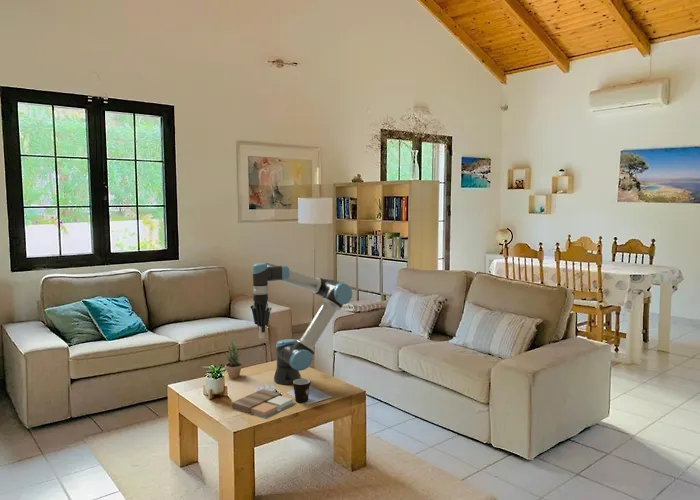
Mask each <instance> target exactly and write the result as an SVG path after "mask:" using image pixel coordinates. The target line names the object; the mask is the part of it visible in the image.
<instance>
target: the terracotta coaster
mask: <svg viewBox="0 0 700 500" xmlns="http://www.w3.org/2000/svg"><path fill="white" fill-rule="evenodd" d="M277 410H278V409H277V406H275V405H272V404H268V403H265V402H263V403H261V404H259V405H257V406H255V407H252V408H251V412H252V413H255V414H258V415H261V416H267V415H269V414H271V413H273V412H275V411H277Z"/></svg>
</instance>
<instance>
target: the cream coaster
mask: <svg viewBox="0 0 700 500" xmlns="http://www.w3.org/2000/svg"><path fill="white" fill-rule="evenodd" d="M292 402H293V398H290V397H286V396H283V395H280V396H277V397H275V398H272V399H270V400H268V401H267V403H268V404H272V405H275V406H277V408H279V409H281V408H283V407H285V406H287V405H289V404H291V403H292Z"/></svg>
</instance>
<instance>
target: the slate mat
mask: <svg viewBox="0 0 700 500" xmlns="http://www.w3.org/2000/svg"><path fill="white" fill-rule="evenodd" d="M296 404H297V402H296V401H292V403H291V404H289V405H287V406H285V407H283V408H281V409H279V408H277V409H278V410H277V411H275V412H273V413H271V414H269V415H267V416H261V415H258V414H255V413H250V414H251V415H253V416H257V417H259V418H263V419H268V418H269V417H272V416H274V415H277V414H278V413H280V412H282V411H284V410H286V409H288V408H289V407H292V406H294V405H296Z"/></svg>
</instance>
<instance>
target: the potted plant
mask: <svg viewBox="0 0 700 500" xmlns="http://www.w3.org/2000/svg"><path fill="white" fill-rule="evenodd" d="M233 338H234V339H233V340H231V339H230V340H229V342H230V346H229V345H228V344H227V343H226V348H227V350H228V352H229V353H228V352H227V351H225V353H224V356H225V357H226V360H227V361H228V362H227V363H225V366H224V367H225V369H226V372H227V375H228V378H230V379H237V378H239V377H240V375H241V370H242V368H243V363H242V362H240V360H241V359H240V356H241V352H240V350H241V349H240V348H239V347H240V343H238V344H237V345H236V334H234V337H233ZM238 348H239V349H238ZM239 352H240V353H239Z"/></svg>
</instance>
